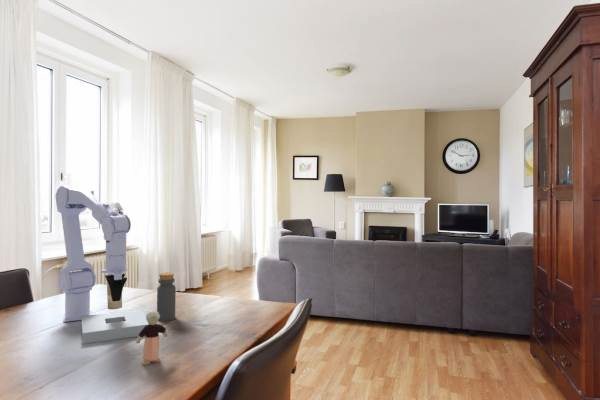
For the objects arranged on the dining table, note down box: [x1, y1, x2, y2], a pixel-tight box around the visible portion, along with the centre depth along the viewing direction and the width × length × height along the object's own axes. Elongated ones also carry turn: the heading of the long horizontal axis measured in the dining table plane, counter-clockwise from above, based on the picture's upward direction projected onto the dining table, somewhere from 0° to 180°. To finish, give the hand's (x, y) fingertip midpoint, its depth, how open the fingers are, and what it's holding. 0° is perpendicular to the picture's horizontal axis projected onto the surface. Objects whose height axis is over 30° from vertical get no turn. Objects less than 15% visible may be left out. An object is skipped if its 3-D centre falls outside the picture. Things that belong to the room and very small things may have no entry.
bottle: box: [156, 272, 177, 322], centre depth 136 cm, size 6×6×15 cm
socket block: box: [80, 308, 149, 345], centre depth 124 cm, size 18×18×3 cm
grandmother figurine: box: [135, 309, 169, 366], centre depth 101 cm, size 8×4×13 cm, turn 139°
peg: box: [106, 281, 123, 310], centre depth 124 cm, size 4×4×8 cm
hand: (115, 299), depth 124 cm, fingers closed on peg, 4 cm apart
